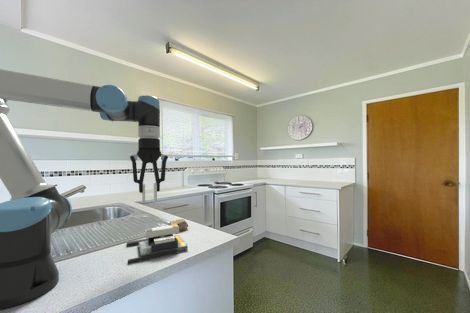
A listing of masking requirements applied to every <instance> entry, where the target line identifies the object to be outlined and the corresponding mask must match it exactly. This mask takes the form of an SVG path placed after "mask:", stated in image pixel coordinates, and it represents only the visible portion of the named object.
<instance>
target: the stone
mask: <svg viewBox="0 0 470 313" xmlns="http://www.w3.org/2000/svg"><path fill="white" fill-rule="evenodd" d="M173 224H177V225H178V226H179V232H183V231H186V230H187V229H188V227H189V224H188V222H187V221H186V219H183V218H179V219H176V220H170V221H169V223H168V225H167V226H170V225H173Z"/></svg>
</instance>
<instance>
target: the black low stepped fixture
mask: <svg viewBox="0 0 470 313" xmlns="http://www.w3.org/2000/svg"><path fill="white" fill-rule="evenodd" d="M147 240H148V238H141V239H136V240H131V241H126V248H128V247H133V246H138V242H141V241H147ZM177 254H178V252H177V250H172V251H168V252H163V253H158V254H153V255H148V256H143V257H140V256H139V257H134V258H130V259H127V265H129V264H134V263H139V262H143V261H149V260H152V259H157V258H162V257H167V256H171V255H177Z"/></svg>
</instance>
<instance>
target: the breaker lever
mask: <svg viewBox="0 0 470 313" xmlns="http://www.w3.org/2000/svg"><path fill="white" fill-rule="evenodd" d="M170 234H173V235H175V234H180V231H179V226H178V225H177V224H173V225H170V226H168V225H164V226H157V227H148V228H145V229H144V237H145V239H147V238H152V237H158V236H164V235H170Z"/></svg>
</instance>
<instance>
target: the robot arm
mask: <svg viewBox="0 0 470 313" xmlns="http://www.w3.org/2000/svg"><path fill="white" fill-rule="evenodd" d="M8 101H11V102H12V101H13V102H20V103H27V104H28V103H29V104H34V105H35V104H36V105H44V106H51V107H58V108H59V107H60V108H65V109H66V108H67V109H74V110H82V111H88V112H95V113H99V116H100V118H101V120H102V121H111V122H128V123H129V122H133V123H138V125H137V126H138V128H137V129H138V130H137V133H138V134H137V135H138V136H137V137H138V138H139V139H138V143H137V144H138V146H137V147H138V148H137V152H136V154H133V155H130V156H129V159H130V162H131V164H132V165H131V166H132V177H133V182H134V183H136V184H138V191H139V193H140V194H141V195H142V197H141V198H142V199H141V201H142V203H146V184H145V183H144V180H145V173H146V168H147V164H149V163H150V164H151V165H152V168H153V173H154V178H155V182H153V201H154V202H157V201H158V192H160V191H161V183H162V182H165V180H166V169H167V168H166V167H167V160H168V158H169V156H168V155H165V154H162V151H161V146H160V145H161V139H160V138H161V130H160V129H161V108H160V107H161V106H160V100H159V98H158V97H156V96H153V95H140V96H138V98H137V100H128V97H127V95H126V94H125V92H124V91H123V90H122V89H121V88H120V87H119V86H117V85H113V84H104V85H102V86H97V85H93V84H85V83H81V82H74V81H69V80H63V79H59V78H58V79H57V78H53V77H48V76H47V77H46V76H41V75H34V74H29V73H24V72H20V71H19V72H18V71H17V72H16V71H14V70H7V69H1V68H0V180H1V182H2V183H3V185H4V187H5V188H6V190H7V191H8V194H9V195H10V197H11V198H10V199H9V200H6V201H3V202H0V310H3V309H9V308H11V307H16V306H19V305H22V304H25V303H27V302H30V301H32V300H35V299H36V298H39V297H41V296H42V295H45V294H46V293H48V292H50V290H52V289H54V287H56V285H58V282H59V281H60V277H59V276H60V272H59V269H58V267H57V264H56V262H55V260H54V258H53V257H52V252H51V251H52V250H51V247H52V246H51V243H52V242H51V241H52V240H51V239H52V236H51V235H52V234H53V233H54V232H55V231H58V230H59V229H61V228H62V227H63V226H65V224H66V223H67V221H68V220H69V219H70V218H71V215H72V212H73V211H72V210H73V209H72V208H73V206H72V203H71V201H70V200H69V199H68V198H67V197H66V196H64V195H62V194H60V192H59V191H58V189H57V187H56V186H55V185H54V184H49V183H47V182H46V180H45V178H44V177H43V175H42V173H41V172H40V171H39V170H40V169H39V168H38V166H37V165H36V163H35V162H34V160H33V159H32V156H31V155H30V153H29V152H28V150H27V148H26V146H25V145H24V143H23V141H22V140H21V138H20V137H19V134H18V133H17V131H16V129H15V128H14V126H13V125H12V123H11V121H10V120H9V118H8V116H7V115H8V113H9V112H10V108H9V106H8V103H7V102H8ZM138 158H139V159H140V161H141V169H140V174H139V179H138V170H137V160H138ZM159 159H160V160H161V168H160V172H159V169H158V160H159ZM159 173H160V174H159Z"/></svg>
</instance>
